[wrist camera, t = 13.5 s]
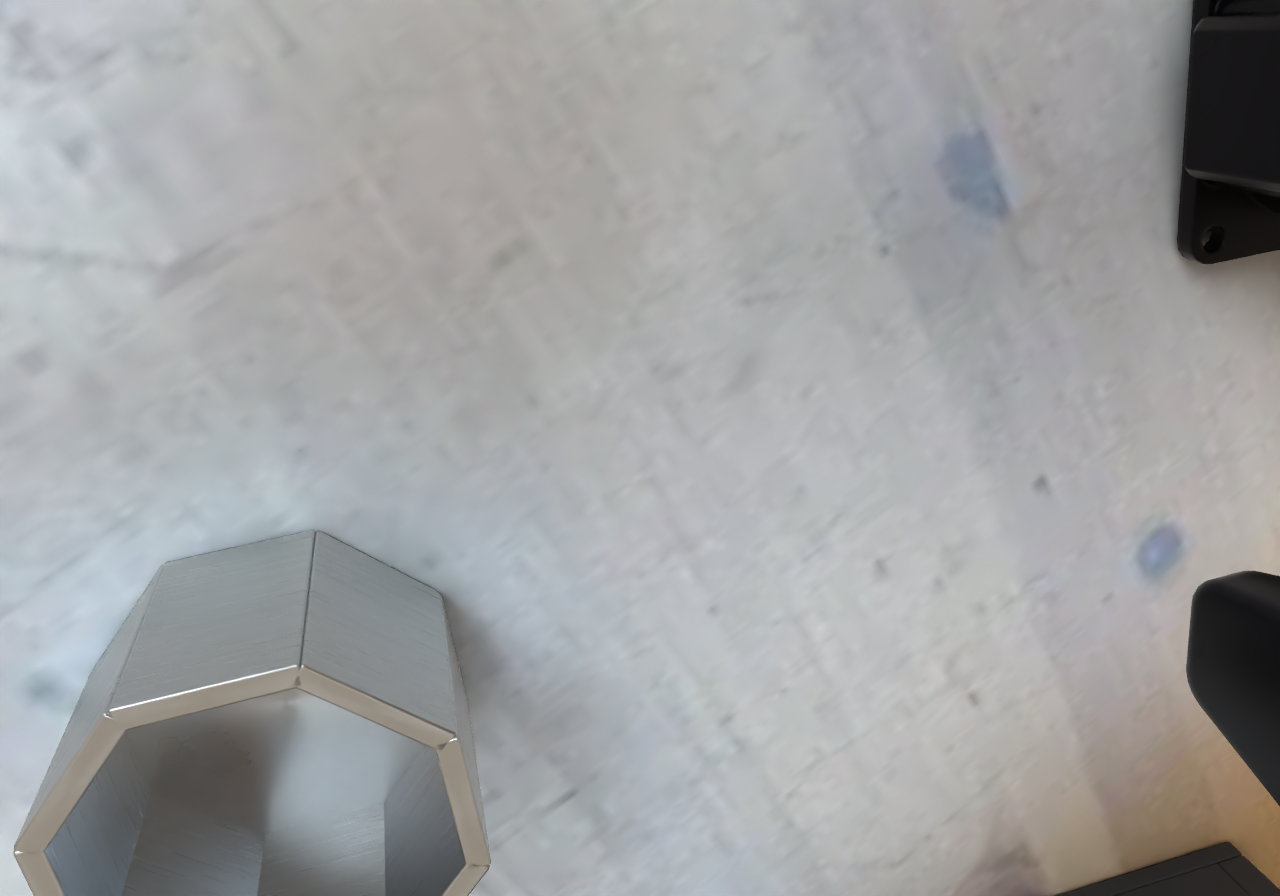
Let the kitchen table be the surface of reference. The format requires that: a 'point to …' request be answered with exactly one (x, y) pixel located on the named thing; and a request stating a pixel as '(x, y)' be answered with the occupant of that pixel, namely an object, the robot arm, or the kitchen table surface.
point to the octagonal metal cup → (267, 739)
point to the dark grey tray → (1190, 877)
